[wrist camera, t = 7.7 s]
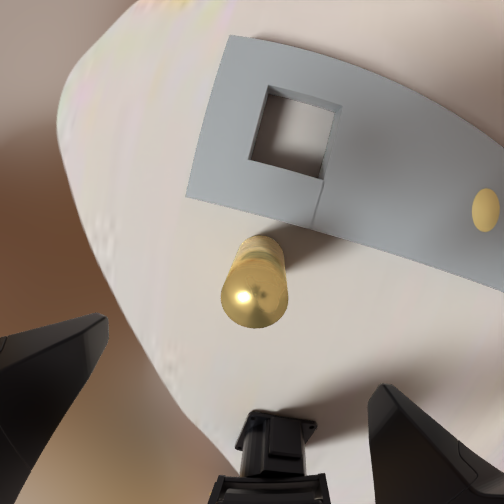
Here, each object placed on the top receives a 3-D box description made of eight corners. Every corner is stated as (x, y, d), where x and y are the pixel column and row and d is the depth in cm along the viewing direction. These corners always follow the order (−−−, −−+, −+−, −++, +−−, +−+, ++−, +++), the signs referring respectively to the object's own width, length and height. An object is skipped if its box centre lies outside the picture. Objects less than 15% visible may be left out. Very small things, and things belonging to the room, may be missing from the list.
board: (525, 297, 18) (537, 305, 16) (194, 193, 17) (184, 197, 15) (553, 204, 15) (567, 208, 13) (234, 47, 14) (229, 34, 12)
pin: (276, 285, 19) (277, 334, 13) (232, 273, 19) (215, 319, 13) (289, 242, 18) (296, 277, 12) (243, 230, 18) (228, 260, 12)
